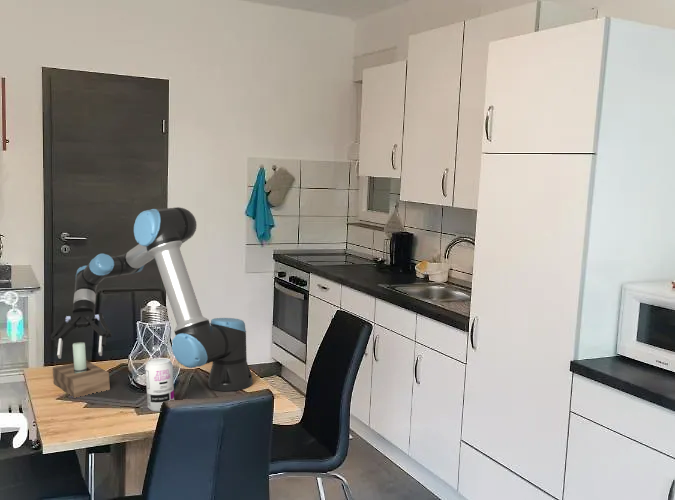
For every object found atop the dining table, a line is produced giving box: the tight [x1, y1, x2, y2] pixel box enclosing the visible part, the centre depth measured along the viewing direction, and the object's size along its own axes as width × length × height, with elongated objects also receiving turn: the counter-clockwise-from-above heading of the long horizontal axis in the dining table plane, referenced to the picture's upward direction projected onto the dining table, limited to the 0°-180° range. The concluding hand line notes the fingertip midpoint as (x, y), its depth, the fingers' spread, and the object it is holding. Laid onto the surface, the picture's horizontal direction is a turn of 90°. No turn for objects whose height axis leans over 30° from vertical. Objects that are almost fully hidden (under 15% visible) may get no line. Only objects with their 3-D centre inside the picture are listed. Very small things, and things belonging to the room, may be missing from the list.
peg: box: [72, 341, 87, 374], centre depth 234 cm, size 4×4×15 cm
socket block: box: [52, 360, 111, 399], centre depth 235 cm, size 20×12×6 cm, turn 41°
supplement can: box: [145, 357, 175, 412], centre depth 213 cm, size 8×8×15 cm
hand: (79, 355), depth 236 cm, fingers open, 13 cm apart
